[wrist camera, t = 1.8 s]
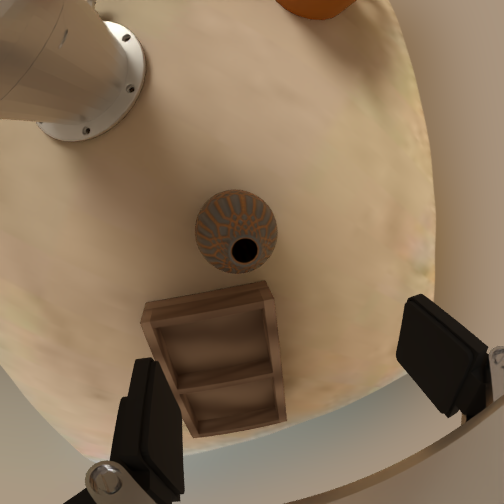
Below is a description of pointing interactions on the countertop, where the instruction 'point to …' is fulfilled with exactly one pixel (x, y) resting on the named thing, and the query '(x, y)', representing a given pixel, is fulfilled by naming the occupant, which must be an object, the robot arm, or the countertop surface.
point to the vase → (236, 231)
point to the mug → (316, 7)
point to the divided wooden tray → (220, 357)
